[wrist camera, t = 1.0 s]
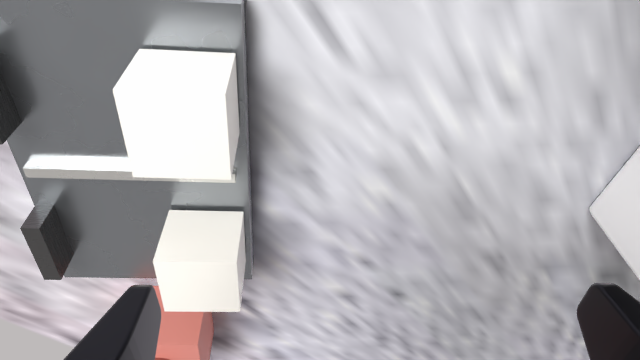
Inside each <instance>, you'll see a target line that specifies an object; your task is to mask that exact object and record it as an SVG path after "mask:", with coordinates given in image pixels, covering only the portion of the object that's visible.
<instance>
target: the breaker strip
mask: <svg viewBox="0 0 640 360" xmlns="http://www.w3.org/2000/svg"><path fill="white" fill-rule="evenodd" d="M139 49H156V50H178V51H199V52H221V53H236V71H237V92H238V112H239V132H240V133H239V138H238V144H237V149H236V155H235V161H234V166H233V172H232V178H231V180H218V179H181V178H144V177H133V175H132V171H131V166H130V162H129V158H128V154H127V149H126V145H125V141H124V137H123V132H122V128H121V124H120V120H119V115H118V111H117V107H116V103H115V98H114V94H113V88H114V87H115V85H116V84H117V82H118V81H119V79H120V78H121V76H122V74H123V73H124V71H125V70H126V68H127V67H128V65H129V64H130V62H131V61H132V59H133V58H134V56H135V55H136V53H137V52H138V50H139ZM6 140H7V141H8V144H9V146H10V149H11V151H12V153H13V156H14V158H15V160H16V163H17V165H18V167H19V170H20V172H21V175H22V177H23V179H24V182H25V184H26V186H27V189H28V191H29V193H30V196H31V198H32V201H33V203H34V205H35V207H34V208H33V210H32V211H31V213H30V214H29V216H28V217H27V219H26V220H25V222H24V223H23V225H22V226H21V228H20V229H21V231H22V233H23V235H24V237H25V239H26V241H27V244H28V246H29V248H30V250H31V252H32V254H33V256H34V258H35V261H36V263H37V265H38V267H39V269H40V271H41V273H42V276H43V278H44V280H61V279H62V277H63V275H64V276H65V277H101V278H157V277H156V273H155V268H154V264H153V259H154V256H155V253H156V249H157V246H158V243H159V240H160V237H161V234H162V231H163V228H164V224H165V221H166V218H167V215H168V212H169V210H194V211H239V212H244V233H245V253H246V264H245V273H244V279H252V272H253V237H252V209H251V180H250V151H249V123H248V94H247V65H246V37H245V8H244V0H0V144H3V143H4V142H5V141H6Z"/></svg>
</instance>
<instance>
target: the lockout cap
mask: <svg viewBox="0 0 640 360" xmlns="http://www.w3.org/2000/svg"><path fill="white" fill-rule="evenodd" d="M153 287H154V289H155V291H156V295H157V298H158V301H159V305H160V308H161V324H160V330H159V336H158V343H157V349H156V355H155V360H209V359H210V352H211V346H212V340H213V333H214V326H213V319H212V312H168V311H164V307H163V303H162V298H161V294H160V290H159V286H153Z"/></svg>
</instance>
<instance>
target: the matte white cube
mask: <svg viewBox="0 0 640 360" xmlns="http://www.w3.org/2000/svg"><path fill="white" fill-rule="evenodd" d="M153 264H154V268H155V273H156V277H157V281H158V286H159V290H160V294H161V298H162V303H163V307H164V311H168V312H240V308H241V300H242V291H243V282H244V273H245V264H246V253H245V233H244V212H239V211H194V210H169V212H168V215H167V218H166V221H165V224H164V228H163V231H162V234H161V237H160V240H159V243H158V246H157V249H156V253H155V256H154V259H153Z"/></svg>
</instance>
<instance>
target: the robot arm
mask: <svg viewBox="0 0 640 360" xmlns="http://www.w3.org/2000/svg"><path fill="white" fill-rule="evenodd" d="M577 317H578V321H579V324H580V328H581V331H582V334H583V338H584V341H585V344H586V348H587V351H588V354H589V357H590V360H640V302H639V301H637V300H636V299H635V298H633V297H632V296H631V295H629V294H628V293H627V292H626V291H624V290H623V289H622V288H620V287H619V286H617V285H615V284H612V283H595V284H593V285H591V286H590V288H589V289H588V291H587V292H586V294H585V295H584V297H583V299H582V300H581V302H580V303H579V305H578V308H577ZM160 324H161V308H160V305H159V301H158V298H157V295H156V291H155V289H154V287H153V286H152V285H133V286H131V287H130V288H129V289H128V290H127V291H126V292H125V293H124V294H123V295H122V296H121V297H120V298H119V299H118V300H117V302H116V303H115V304H114V305H113V306H112V307H111V308H110V309H109V310H108V311H107V313H106V314H105V315H104V316H103V317H102V318H101V319H100V320H99V321H98V322H97V324H96V325H95V326H94V327H93V328H92V329H91V330H90V331H89V332H88V333H87V334H86V336H85V337H84V338H83V339H82V340H81V341H80V342H79V343H78V344H77V345H76V347H75V348H74V349H73V350H72V351H71V352H70V353H69V354H68V356H66V358H65V359H64V360H155V355H156V349H157V343H158V336H159V330H160Z"/></svg>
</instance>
